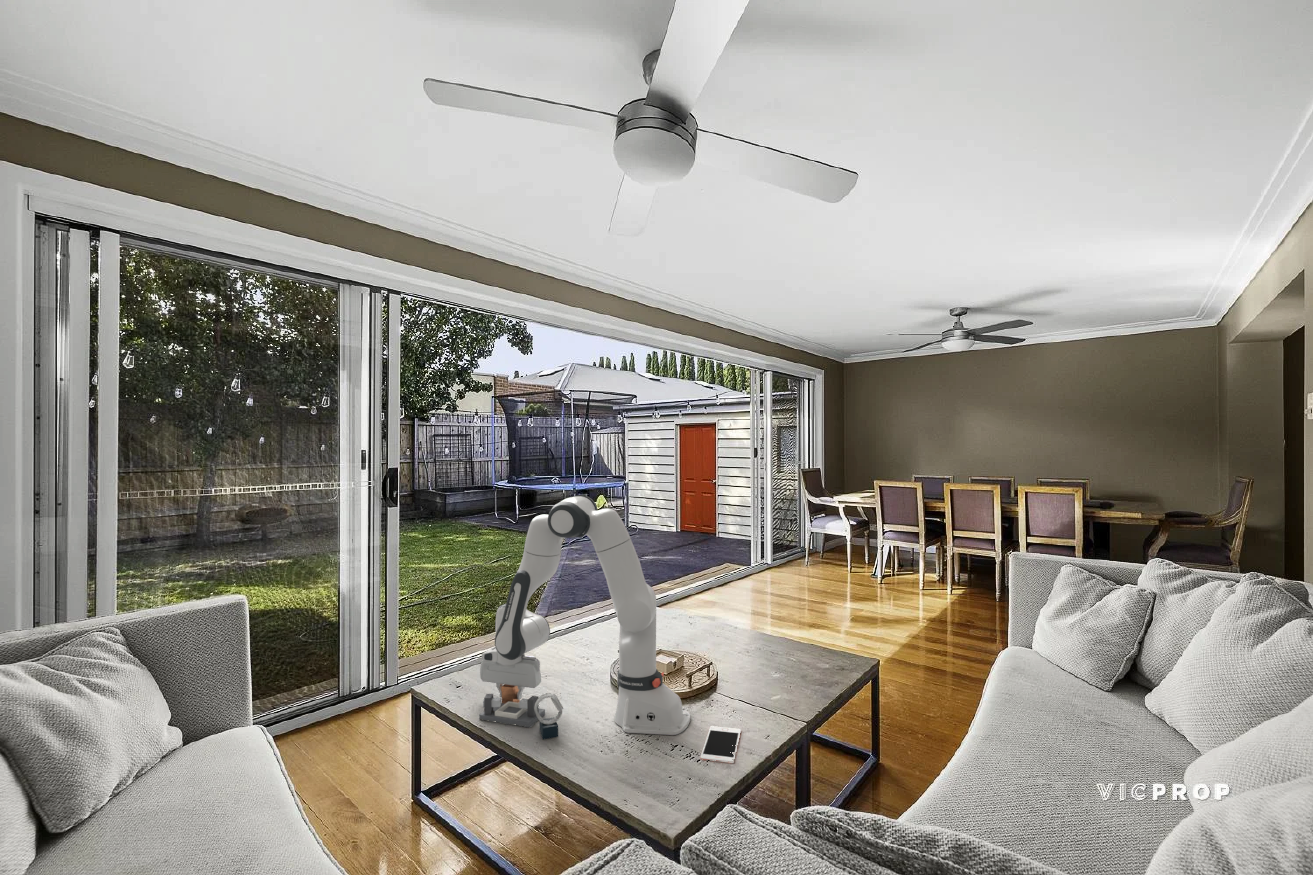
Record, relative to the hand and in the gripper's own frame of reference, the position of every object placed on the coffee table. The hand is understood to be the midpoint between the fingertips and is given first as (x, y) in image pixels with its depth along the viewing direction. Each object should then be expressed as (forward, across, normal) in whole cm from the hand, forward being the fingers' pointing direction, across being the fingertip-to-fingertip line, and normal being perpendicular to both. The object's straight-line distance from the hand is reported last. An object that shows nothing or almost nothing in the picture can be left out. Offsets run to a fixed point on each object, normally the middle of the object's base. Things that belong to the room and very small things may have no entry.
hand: (510, 697), depth 193 cm
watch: (+2, -21, +14) cm, 25 cm away
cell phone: (+2, -69, +6) cm, 69 cm away
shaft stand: (+2, -6, +8) cm, 10 cm away
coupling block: (+2, 0, 0) cm, 2 cm away
